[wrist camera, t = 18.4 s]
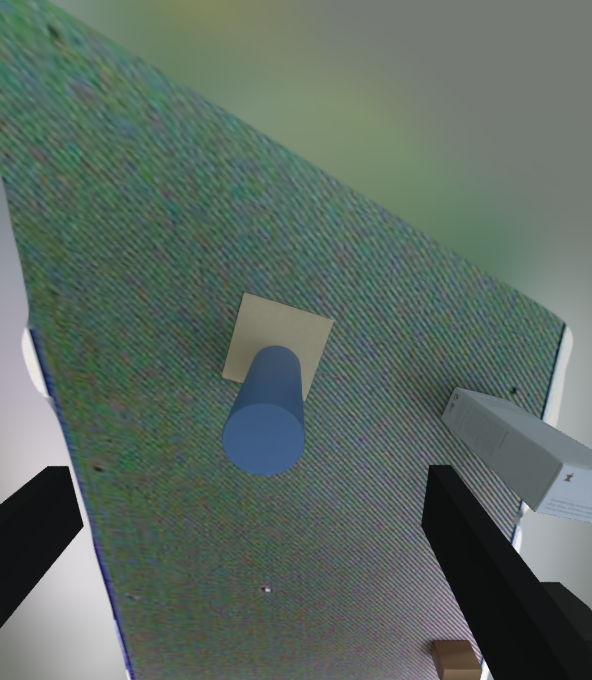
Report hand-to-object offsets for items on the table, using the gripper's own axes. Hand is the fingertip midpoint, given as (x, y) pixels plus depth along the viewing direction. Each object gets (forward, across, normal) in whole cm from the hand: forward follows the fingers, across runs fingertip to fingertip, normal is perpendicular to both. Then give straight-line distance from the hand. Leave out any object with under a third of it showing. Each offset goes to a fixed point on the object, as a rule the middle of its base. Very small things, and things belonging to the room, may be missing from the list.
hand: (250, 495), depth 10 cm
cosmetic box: (+19, +21, -7) cm, 29 cm away
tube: (+12, -2, 0) cm, 12 cm away
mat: (+19, 0, 0) cm, 19 cm away
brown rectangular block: (+19, +23, -44) cm, 53 cm away
